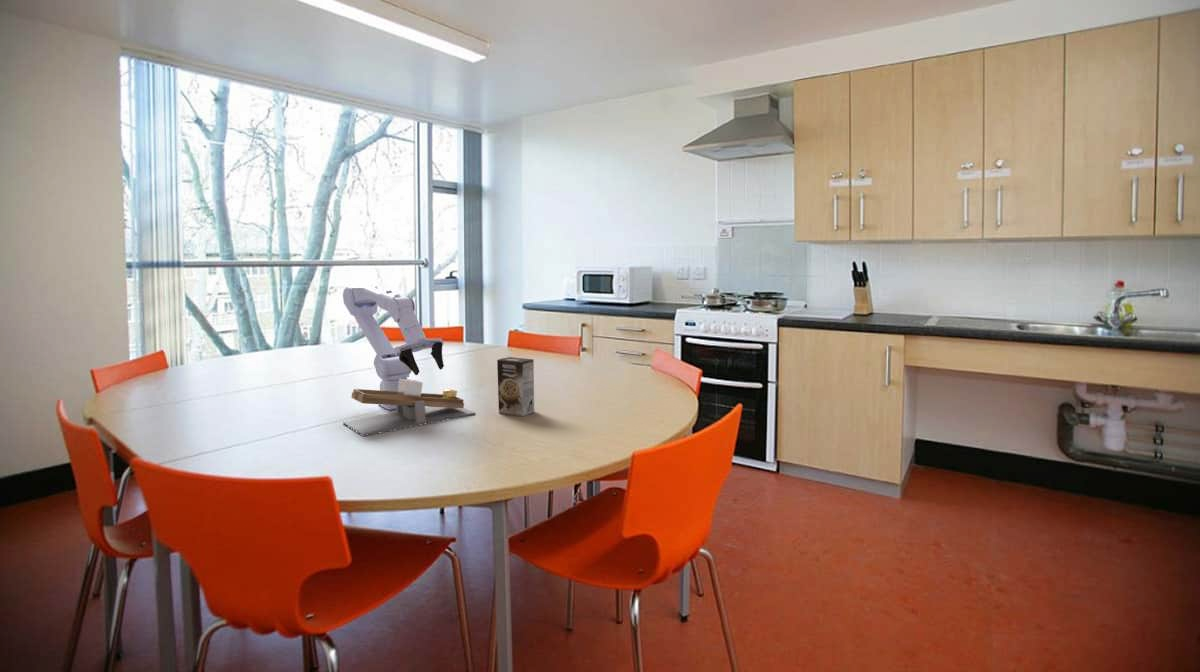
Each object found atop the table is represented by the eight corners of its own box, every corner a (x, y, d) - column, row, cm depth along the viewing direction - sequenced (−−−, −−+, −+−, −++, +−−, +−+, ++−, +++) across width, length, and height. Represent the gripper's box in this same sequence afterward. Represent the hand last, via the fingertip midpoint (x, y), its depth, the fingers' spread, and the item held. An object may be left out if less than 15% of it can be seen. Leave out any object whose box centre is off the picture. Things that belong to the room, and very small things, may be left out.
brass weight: (439, 398, 192) (441, 388, 192) (451, 399, 194) (453, 389, 194) (445, 401, 189) (447, 390, 189) (457, 401, 191) (459, 391, 191)
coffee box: (497, 413, 190) (495, 359, 188) (510, 408, 196) (508, 356, 193) (523, 416, 186) (521, 361, 183) (535, 411, 191) (534, 358, 189)
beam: (349, 396, 179) (351, 388, 179) (447, 402, 198) (449, 394, 198) (364, 404, 170) (365, 395, 170) (465, 409, 189) (466, 400, 189)
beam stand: (343, 424, 180) (341, 401, 179) (450, 404, 201) (449, 384, 200) (362, 436, 168) (361, 412, 167) (475, 414, 189) (474, 393, 188)
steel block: (396, 395, 184) (399, 378, 184) (413, 396, 187) (415, 379, 187) (403, 398, 180) (406, 381, 180) (420, 399, 183) (422, 382, 183)
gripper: (391, 328, 181) (409, 368, 177) (438, 320, 191) (456, 358, 186) (386, 341, 186) (403, 381, 182) (432, 333, 196) (449, 370, 191)
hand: (429, 370), depth 184 cm, fingers open, 7 cm apart
